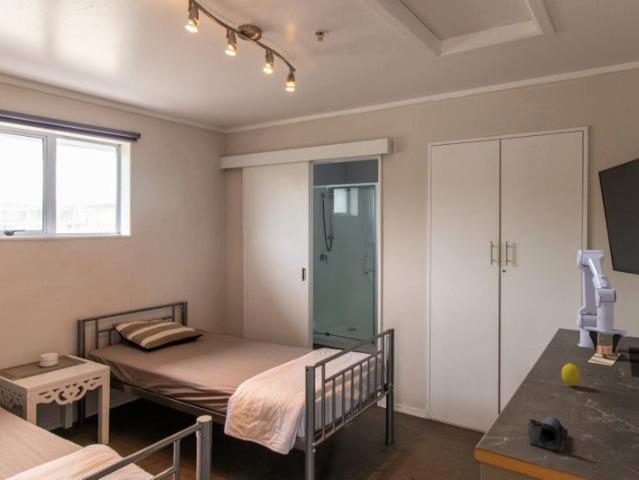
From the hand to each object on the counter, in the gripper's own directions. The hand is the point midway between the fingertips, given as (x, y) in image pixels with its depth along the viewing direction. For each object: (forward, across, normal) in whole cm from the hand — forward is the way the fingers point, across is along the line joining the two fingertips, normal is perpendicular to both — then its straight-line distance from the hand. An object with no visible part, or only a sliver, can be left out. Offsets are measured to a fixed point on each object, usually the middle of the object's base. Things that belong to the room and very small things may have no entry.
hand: (604, 351), depth 184 cm
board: (+4, 0, 0) cm, 4 cm away
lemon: (+4, -3, -41) cm, 41 cm away
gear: (0, 0, 0) cm, 0 cm away
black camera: (+4, +2, -88) cm, 88 cm away
